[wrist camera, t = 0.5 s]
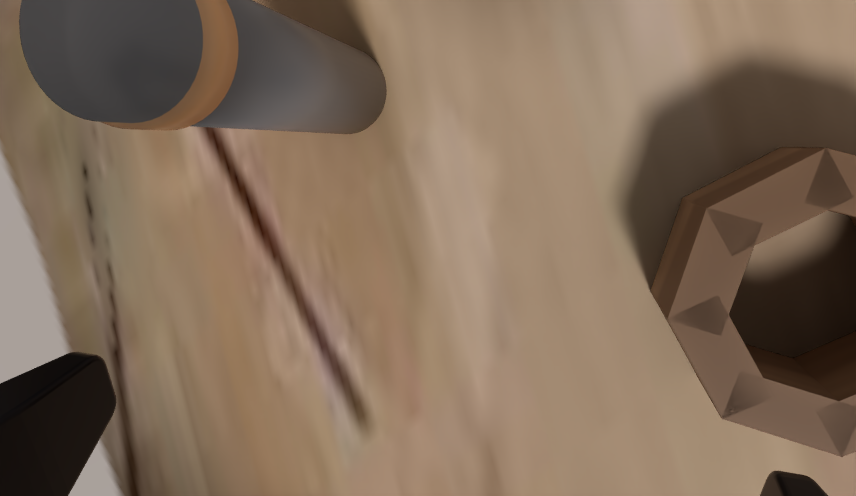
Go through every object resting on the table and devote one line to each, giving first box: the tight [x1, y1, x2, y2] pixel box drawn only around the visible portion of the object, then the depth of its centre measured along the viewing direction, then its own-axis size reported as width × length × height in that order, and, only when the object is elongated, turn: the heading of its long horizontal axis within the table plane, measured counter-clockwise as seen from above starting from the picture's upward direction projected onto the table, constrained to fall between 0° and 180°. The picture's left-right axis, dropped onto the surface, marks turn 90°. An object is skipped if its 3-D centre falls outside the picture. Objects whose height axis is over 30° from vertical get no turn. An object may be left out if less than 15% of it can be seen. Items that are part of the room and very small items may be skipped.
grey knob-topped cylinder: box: [19, 0, 386, 134], centre depth 16 cm, size 3×3×12 cm
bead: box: [650, 147, 856, 457], centre depth 18 cm, size 7×7×4 cm
